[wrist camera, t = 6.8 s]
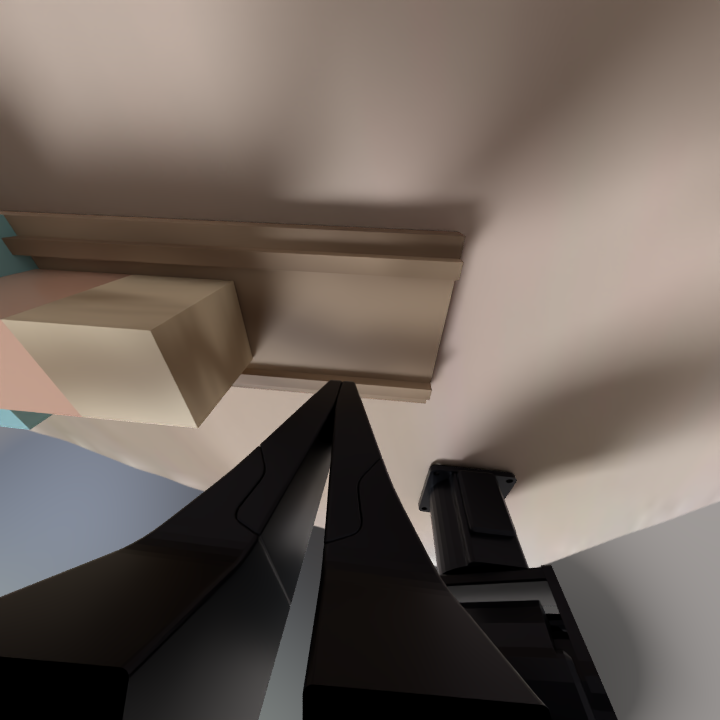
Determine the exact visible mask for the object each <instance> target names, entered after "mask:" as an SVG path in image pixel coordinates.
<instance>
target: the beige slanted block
mask: <svg viewBox="0 0 720 720" xmlns="http://www.w3.org/2000/svg"><path fill="white" fill-rule="evenodd" d="M1 320H2V322H3V323H4V324H5V325H6V326H7V328H8V329H9V330H10V331H11V332H12V334H13V335H14V336H15V337H16V338H17V339H18V341H19V342H20V343H21V344H22V345H23V347H24V348H25V349H26V350H27V351H28V353H29V354H30V355H31V356H32V357H33V359H34V360H35V361H36V362H37V363H38V365H39V366H40V367H41V368H42V369H43V371H44V372H45V373H46V374H47V375H48V377H49V378H50V379H51V380H52V381H53V383H54V384H55V385H56V386H57V387H58V389H59V390H60V391H61V392H62V393H63V395H64V396H65V397H66V398H67V399H68V401H69V402H70V403H71V404H72V405H73V407H74V408H75V409H76V410H77V411H78V413H79V414H80V415H81V416H82V417H87V418H97V419H108V420H118V421H128V422H138V423H148V424H158V425H168V426H178V427H188V428H199V426H200V425H201V424H202V423H203V421H204V420H205V419H206V418H207V416H208V415H209V414H210V413H211V411H212V410H213V409H214V407H215V406H216V405H217V404H218V402H219V401H220V400H221V399H222V397H223V396H224V395H225V394H226V392H227V391H228V390H229V389H230V387H231V386H232V385H233V384H234V382H235V381H236V380H237V379H238V377H239V376H240V375H241V374H242V372H243V371H244V370H245V368H246V367H247V366H248V365H249V363H250V362H251V361H252V360H253V357H252V353H251V349H250V345H249V341H248V337H247V333H246V329H245V325H244V321H243V317H242V313H241V309H240V305H239V301H238V297H237V293H236V289H235V285H234V281H229V280H212V279H196V278H180V277H163V276H147V275H130V276H127V277H124V278H121V279H118V280H115V281H112V282H109V283H106V284H103V285H100V286H97V287H95V288H92V289H89V290H86V291H83V292H80V293H77V294H74V295H71V296H68V297H65V298H62V299H59V300H56V301H53V302H50V303H48V304H45V305H42V306H39V307H36V308H33V309H30V310H27V311H24V312H21V313H18V314H15V315H12V316H9V317H6V318H3V319H1Z"/></svg>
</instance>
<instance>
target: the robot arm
mask: <svg viewBox="0 0 720 720" xmlns="http://www.w3.org/2000/svg"><path fill="white" fill-rule="evenodd" d="M329 469H330V473H329V486H328V499H327V511H326V524H325V537H324V549H323V561H322V570H321V579H320V586H319V593H318V599H317V605H316V612H315V618H314V625H313V632H312V638H311V644H310V651H309V657H308V663H307V670H306V676H305V682H304V689H303V720H618V719H617V717H616V715H615V712H614V710H613V707H612V705H611V703H610V700H609V698H608V696H607V693H606V691H605V689H604V686H603V684H602V682H601V679H600V677H599V675H598V672H597V670H596V668H595V666H594V663H593V661H592V658H591V656H590V654H589V652H588V649H587V647H586V645H585V643H584V640H583V638H582V636H581V633H580V631H579V629H578V626H577V624H576V622H575V619H574V617H573V615H572V612H571V610H570V608H569V606H568V603H567V601H566V598H565V596H564V594H563V591H562V589H561V587H560V585H559V582H558V580H557V577H556V575H555V573H554V571H553V568H552V566H551V565H541V567H539V568H529V567H528V565H527V562H526V559H525V556H524V554H523V551H522V548H521V545H520V543H519V540H518V537H517V534H516V530H515V527H514V525H513V522H512V519H511V516H510V514H509V511H508V508H507V506H506V503H505V500H504V499H505V498H506V496H507V495H508V493H509V492H510V490H511V489H512V488H513V486H514V485H515V483H516V481H517V480H516V477H515V475H514V474H513V473H510V472H500V471H490V470H481V469H471V468H461V467H451V466H442V465H433V466H431V467H430V468H429V471H428V474H427V477H426V480H425V484H424V487H423V490H422V493H421V497H420V500H419V503H418V505H419V510H420V511H424V512H430V513H431V521H432V529H433V537H434V545H435V553H436V561H437V568H438V572H437V570H436V569H435V567H434V565H433V563H432V561H431V559H430V558H429V556H428V554H427V552H426V550H425V548H424V546H423V544H422V542H421V540H420V538H419V537H418V535H417V533H416V531H415V529H414V527H413V525H412V523H411V521H410V519H409V517H408V515H407V513H406V511H405V510H404V508H403V506H402V504H401V501H400V499H399V497H398V495H397V493H396V491H395V489H394V487H393V484H392V482H391V479H390V477H389V474H388V472H387V469H386V466H385V464H384V461H383V459H382V456H381V453H380V450H379V448H378V445H377V442H376V439H375V437H374V434H373V431H372V428H371V425H370V423H369V420H368V417H367V414H366V412H365V409H364V406H363V403H362V401H361V398H360V395H359V392H358V389H357V387H356V384H355V382H353V381H343V382H342V381H341V380H329V381H328V382H327V383H326V384H325V385H324V386H323V387H322V388H321V389H320V390H319V391H317V392H316V393H315V394H314V395H313V396H312V397H311V398H310V399H309V400H308V401H307V402H306V403H304V404H303V405H302V406H301V407H300V408H299V409H298V410H297V411H296V412H295V413H294V414H293V415H291V416H290V417H289V418H288V419H287V420H286V421H285V422H284V423H283V424H282V425H281V426H280V427H279V428H277V429H276V430H275V431H274V432H273V433H272V434H271V435H270V436H269V437H268V438H267V439H266V440H264V441H263V442H262V443H261V444H260V446H258V447H257V448H256V449H255V450H254V451H252V452H251V453H250V454H249V455H248V456H247V457H246V458H245V459H244V460H242V461H241V462H240V463H239V464H238V465H237V466H236V467H234V468H233V469H232V470H231V471H230V472H228V473H227V474H226V475H225V476H223V477H222V478H221V479H220V480H219V481H217V482H216V483H215V484H214V485H212V486H211V487H210V488H208V489H207V490H206V491H205V492H203V493H202V494H201V495H199V496H198V497H197V498H195V499H194V500H193V501H192V502H190V503H189V504H188V505H187V506H185V507H184V508H183V509H181V510H180V511H179V512H177V513H176V514H175V515H174V516H172V517H171V518H170V519H168V520H167V521H166V522H164V523H163V524H162V525H161V526H159V527H158V528H156V529H155V530H153V531H152V532H150V533H149V534H147V535H146V536H144V537H143V538H141V539H139V540H137V541H136V542H134V543H132V544H130V545H128V546H126V547H124V548H122V549H120V550H118V551H115V552H112V553H110V554H107V555H105V556H102V557H100V558H97V559H95V560H92V561H90V562H87V563H85V564H82V565H80V566H77V567H75V568H72V569H70V570H67V571H65V572H62V573H60V574H57V575H55V576H52V577H50V578H47V579H45V580H42V581H39V582H37V583H35V584H32V585H29V586H27V587H24V588H22V589H19V590H17V591H14V592H12V593H9V594H7V595H4V596H2V597H0V720H258V719H259V715H260V711H261V708H262V705H263V701H264V697H265V694H266V690H267V687H268V683H269V680H270V676H271V673H272V669H273V666H274V662H275V658H276V655H277V652H278V648H279V645H280V641H281V638H282V634H283V631H284V627H285V624H286V620H287V617H288V613H289V610H290V605H291V602H292V598H293V595H294V592H295V588H296V585H297V581H298V578H299V574H300V571H301V567H302V563H303V560H304V557H305V553H306V549H307V546H308V542H309V539H310V535H311V531H312V528H313V525H314V521H315V518H316V514H317V511H318V507H319V504H320V500H321V497H322V493H323V490H324V486H325V483H326V479H327V476H328V472H329ZM543 606H557V607H558V610H559V613H554V614H553V613H549V614H546V613H545V611H544V609H543Z"/></svg>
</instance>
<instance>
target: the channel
mask: <svg viewBox="0 0 720 720" xmlns="http://www.w3.org/2000/svg"><path fill="white" fill-rule="evenodd" d="M0 215H4V217H5V218H6V220H7V221H8V223H9V224H10V226H11V227H12V229H13V230H14V232H15V233H16V235H17V236H13V237H5V238H1V239H2V240H3V242H4V243H5V245H6V246H7V247H8V249H9V250H10V252H11V253H12V255H24V256H31V257H32V259H33V260H34V262H35V263H36V265H37V266H38V268H39V269H48V270H64V271H81V272H97V273H114V274H130V275H147V276H163V277H180V278H196V279H212V280H229V281H234V285H235V289H236V293H237V297H238V301H239V305H240V309H241V313H242V317H243V321H244V325H245V329H246V333H247V337H248V341H249V345H250V349H251V353H252V357H253V360H252V361H251V362H250V363H249V365H248V366H247V367H246V368H245V370H244V371H243V372H242V374H241V375H240V376H239V377H238V379H237V380H236V381H235V382H234V384H233V385H232V387H243V388H254V389H266V390H277V391H289V392H300V393H312V394H315V393H316V392H317V391H319V390H320V389H321V388H322V387H323V386H324V385H325V384H326V383H327V382H328V381H329V380H341V381H342V382H343V381H353V382H355V384H356V387H357V389H358V392H359V395H360V398H369V399H380V400H391V401H403V402H414V403H426V400H429V399H430V395H431V391H432V389H431V384H430V382H431V378H432V374H433V370H434V366H435V361H436V357H437V353H438V349H439V345H440V340H441V336H442V332H443V328H444V324H445V319H446V315H447V311H448V307H449V303H450V299H451V294H452V290H453V286H454V282H455V280H459V278H460V274H461V270H462V266H463V262H462V261H461V260H460V257H461V252H462V248H463V244H464V240H465V236H464V235H463V234H461V233H459V232H450V231H428V230H406V229H384V228H362V227H340V226H318V225H297V224H275V223H253V222H231V221H209V220H187V219H165V218H144V217H122V216H100V215H78V214H56V213H34V212H12V211H0Z"/></svg>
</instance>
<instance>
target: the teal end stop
mask: <svg viewBox="0 0 720 720" xmlns="http://www.w3.org/2000/svg"><path fill="white" fill-rule="evenodd" d="M13 236H17V235H16V233H15V232H14V230H13V229H12V227H11V226H10V224H9V223H8V221H7V220H6V218H5V217H4V215H0V277H3V276H7V275H12V274H16V273H20V272H25V271H29V270H33V269H39V268H38V266H37V265H36V263H35V262H34V260H33V259H32V257H31V256H24V255H12V253H11V252H10V250H9V249H8V247H7V246H6V245H5V243H4V242H3V240H2V239H1V238H5V237H13ZM51 415H52V414H47V413H37V412H27V411H17V410H7V409H0V427H10V428H19V429H29V430H30V429H32V428H33V427H35V426H36V425H38V424H39V423H41V422H42V421H44V420H45V419H47V418H48V417H50V416H51Z"/></svg>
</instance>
